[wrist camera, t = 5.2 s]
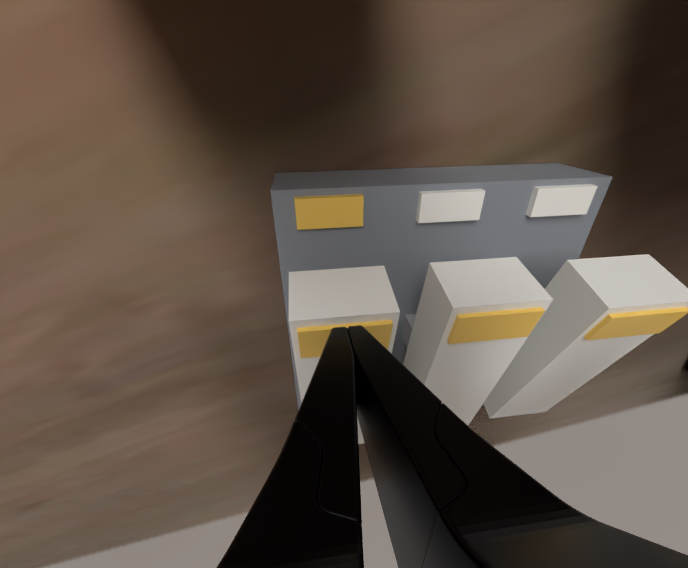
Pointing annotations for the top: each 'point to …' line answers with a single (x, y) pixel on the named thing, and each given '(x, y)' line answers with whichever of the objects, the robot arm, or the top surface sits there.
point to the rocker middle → (472, 327)
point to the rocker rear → (587, 329)
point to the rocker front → (338, 312)
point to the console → (432, 223)
